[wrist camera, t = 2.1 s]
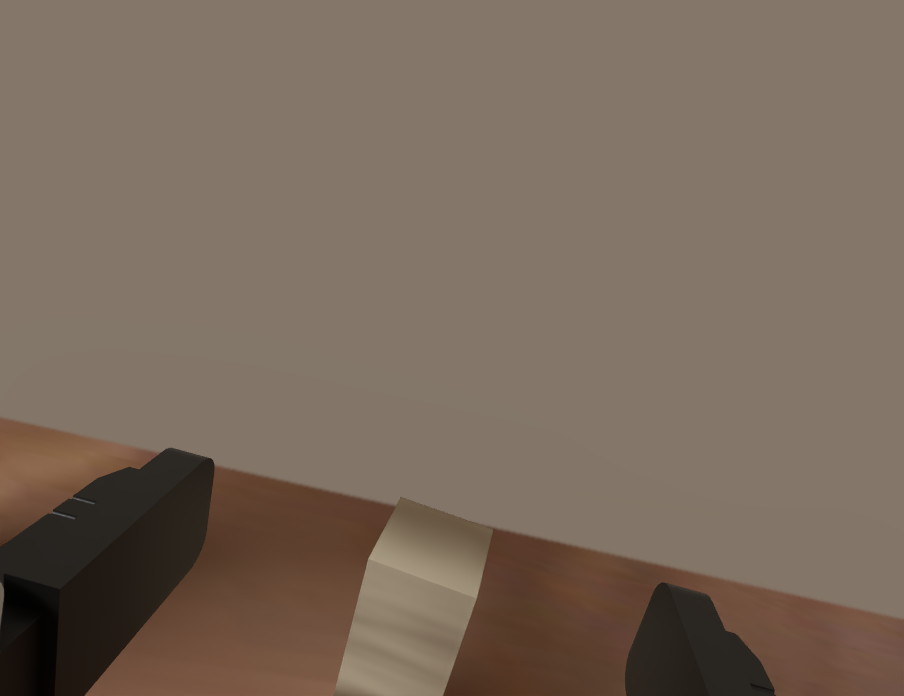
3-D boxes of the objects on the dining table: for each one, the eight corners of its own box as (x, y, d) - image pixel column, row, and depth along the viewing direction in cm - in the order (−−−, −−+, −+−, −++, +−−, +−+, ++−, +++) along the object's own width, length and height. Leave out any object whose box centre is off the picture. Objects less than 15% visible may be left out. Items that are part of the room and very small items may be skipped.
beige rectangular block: (401, 815, 25) (476, 598, 20) (312, 778, 25) (368, 558, 21) (425, 728, 28) (493, 529, 24) (347, 698, 29) (400, 497, 25)
